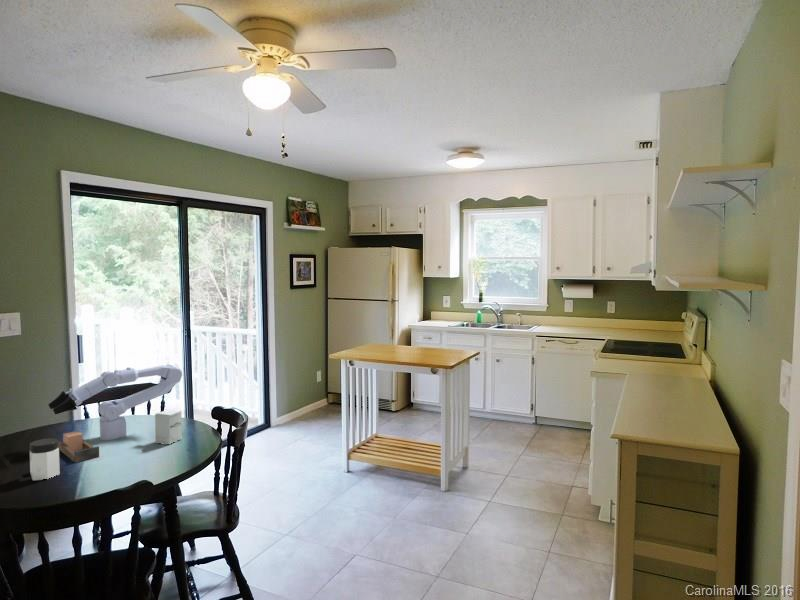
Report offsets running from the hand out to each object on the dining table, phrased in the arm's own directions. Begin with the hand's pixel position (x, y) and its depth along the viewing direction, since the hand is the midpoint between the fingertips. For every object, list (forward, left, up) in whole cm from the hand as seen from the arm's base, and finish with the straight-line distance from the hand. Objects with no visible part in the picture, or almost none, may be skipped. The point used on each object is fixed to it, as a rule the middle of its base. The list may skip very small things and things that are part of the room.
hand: (51, 409), depth 202 cm
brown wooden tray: (-5, +13, -17) cm, 21 cm away
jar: (+9, +27, -17) cm, 33 cm away
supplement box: (-36, +22, -17) cm, 45 cm away
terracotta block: (-5, +7, -15) cm, 18 cm away
